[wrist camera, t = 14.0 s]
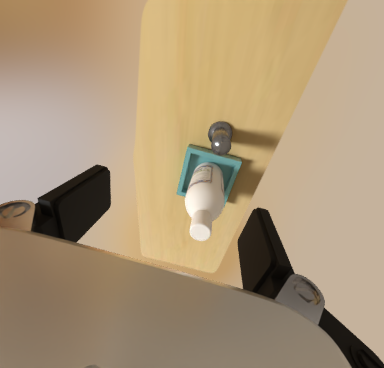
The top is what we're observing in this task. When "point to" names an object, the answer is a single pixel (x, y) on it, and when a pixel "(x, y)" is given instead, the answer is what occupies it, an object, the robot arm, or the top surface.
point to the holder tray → (202, 155)
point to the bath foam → (204, 199)
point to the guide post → (220, 137)
